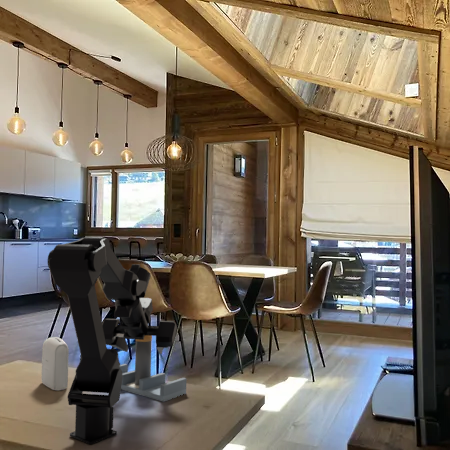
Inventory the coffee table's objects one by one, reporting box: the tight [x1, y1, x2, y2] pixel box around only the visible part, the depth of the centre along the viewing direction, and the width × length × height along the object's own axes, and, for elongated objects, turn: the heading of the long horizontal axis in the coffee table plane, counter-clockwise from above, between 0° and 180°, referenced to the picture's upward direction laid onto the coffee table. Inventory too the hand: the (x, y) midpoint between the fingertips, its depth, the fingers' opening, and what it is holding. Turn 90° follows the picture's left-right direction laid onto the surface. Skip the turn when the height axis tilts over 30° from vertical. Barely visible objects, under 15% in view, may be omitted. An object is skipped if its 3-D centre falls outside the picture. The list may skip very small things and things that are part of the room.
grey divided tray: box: [120, 363, 187, 402], centre depth 121 cm, size 8×23×4 cm, turn 53°
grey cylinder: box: [134, 335, 153, 385], centre depth 122 cm, size 4×4×13 cm
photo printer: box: [41, 336, 70, 391], centre depth 122 cm, size 10×4×12 cm, turn 39°
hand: (144, 351), depth 122 cm, fingers open, 9 cm apart
